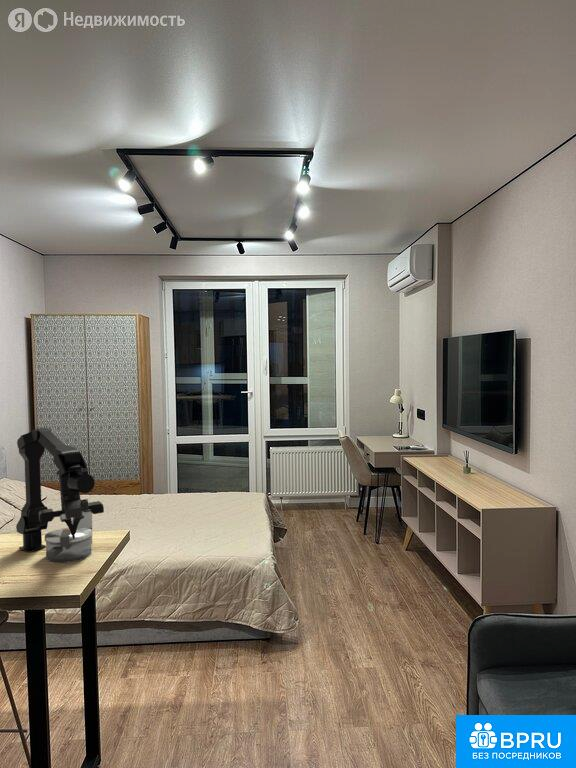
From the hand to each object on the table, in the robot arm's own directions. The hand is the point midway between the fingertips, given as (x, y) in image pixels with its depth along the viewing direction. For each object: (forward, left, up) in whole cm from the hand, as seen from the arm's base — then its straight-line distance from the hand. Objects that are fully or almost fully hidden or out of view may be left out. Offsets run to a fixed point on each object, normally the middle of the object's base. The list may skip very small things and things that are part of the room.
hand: (73, 538), depth 180 cm
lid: (-8, +3, -2) cm, 8 cm away
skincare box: (-17, +15, -9) cm, 24 cm away
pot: (-9, +3, -9) cm, 13 cm away
